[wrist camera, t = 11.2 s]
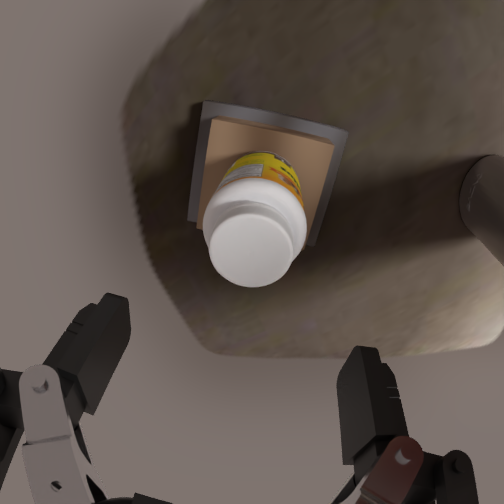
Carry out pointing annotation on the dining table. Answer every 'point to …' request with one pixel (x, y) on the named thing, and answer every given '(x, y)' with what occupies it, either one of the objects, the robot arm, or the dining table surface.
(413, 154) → the dining table surface
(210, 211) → the supplement bottle
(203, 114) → the pedestal
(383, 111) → the dining table surface
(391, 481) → the robot arm
